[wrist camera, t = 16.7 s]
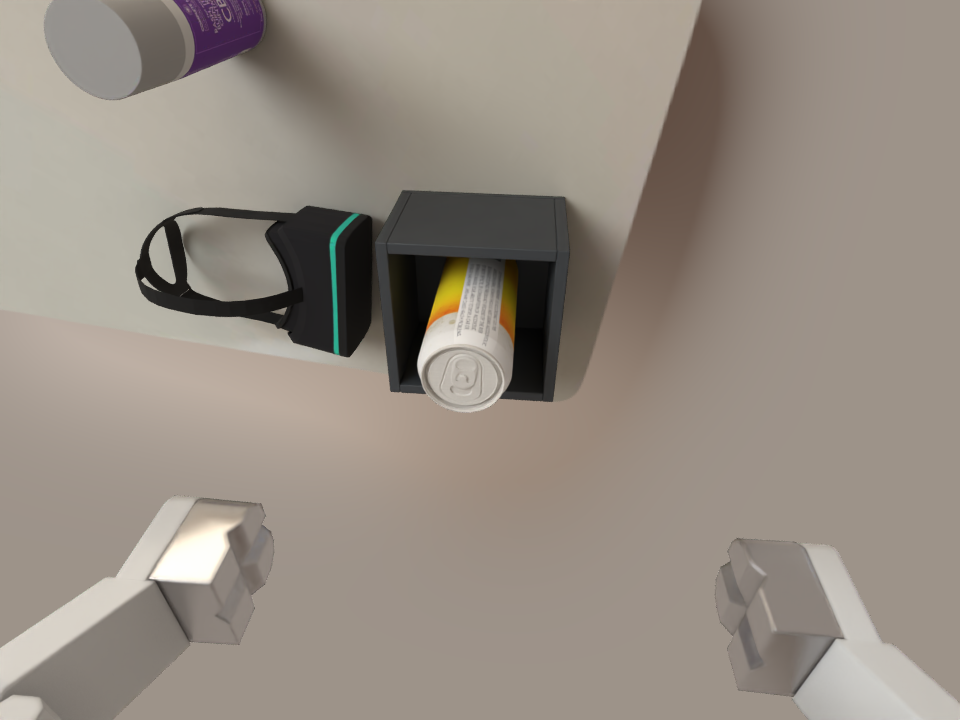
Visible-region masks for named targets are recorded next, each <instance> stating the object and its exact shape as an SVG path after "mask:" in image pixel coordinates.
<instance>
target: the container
mask: <svg viewBox="0 0 960 720" xmlns="http://www.w3.org/2000/svg"><path fill="white" fill-rule="evenodd" d="M265 31H266V13H265V8H264V5H263V3H262V0H53V1H52V2H51V3H50V4H49V6H48V8H47V10H46V13H45V17H44V33H45V39H46V42H47V45H48V48H49V50H50V53H51V55H52V57H53V59H54V60H55V62H56V64H57V65H58V67H59V68H60V69H61V71H62V72H63V73H64V74H65V75H66V76H67V77H68V78H69V79H70V80H71V81H72V82H73V83H74V84H75V85H76V86H78V87H79V88H80V89H82V90H83V91H85V92H87V93H89V94H91V95H93V96H95V97H98V98H101V99H106V100H120V99H123V98H126V97H129V96H132V95H135V94H138V93H141V92H144V91H147V90H150V89H153V88H155V87H158V86H161V85H164V84H167V83H170V82H173V81H176V80H179V79H181V78H184V77H186V76H188V75H191V74H193V73H196V72H198V71H201V70H203V69H205V68H208V67H210V66H213V65H215V64H218V63H220V62H222V61H225V60H227V59H230V58H232V57H235V56H237V55H239V54H242V53H244V52H247V51H249V50H251V49H253V48H255V47H256V46H257V45H258V44H259V43H260V42H261V40H262V39H263V37H264V34H265Z"/></svg>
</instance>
